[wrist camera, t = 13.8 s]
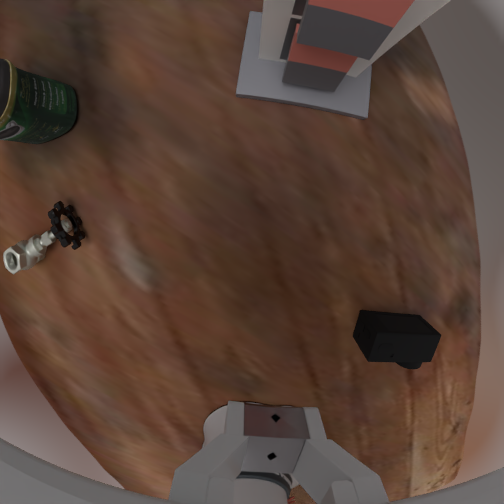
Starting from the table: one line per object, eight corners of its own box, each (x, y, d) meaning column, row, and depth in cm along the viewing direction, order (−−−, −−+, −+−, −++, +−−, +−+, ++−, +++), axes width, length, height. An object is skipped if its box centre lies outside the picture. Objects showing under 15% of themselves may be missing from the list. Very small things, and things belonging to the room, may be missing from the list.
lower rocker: (283, 73, 31) (296, 23, 21) (334, 83, 32) (363, 39, 22) (282, 82, 32) (295, 33, 22) (334, 92, 32) (363, 49, 22)
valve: (38, 274, 40) (91, 241, 39) (13, 288, 34) (67, 252, 33) (21, 236, 39) (72, 198, 38) (-6, 245, 33) (45, 203, 31)
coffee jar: (78, 78, 34) (-7, 39, 16) (81, 129, 36) (-12, 112, 18) (27, 102, 34) (-60, 83, 16) (30, 150, 36) (-63, 149, 18)
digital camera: (349, 343, 43) (364, 370, 36) (359, 309, 42) (377, 332, 35) (408, 346, 43) (428, 369, 37) (419, 314, 42) (441, 335, 35)
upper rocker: (297, 32, 20) (323, -57, 10) (369, 49, 20) (421, -25, 10) (296, 43, 20) (323, -48, 10) (369, 60, 21) (425, -14, 11)
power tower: (250, 16, 32) (251, -138, 6) (369, 40, 33) (480, -66, 7) (236, 96, 35) (213, -35, 9) (363, 119, 36) (512, 60, 10)
